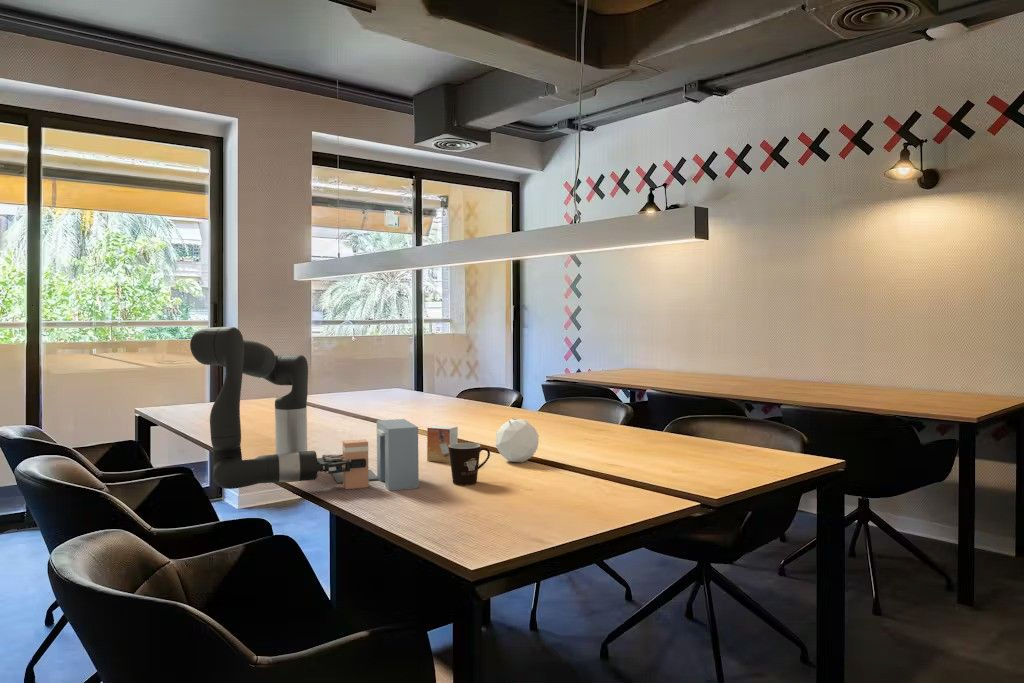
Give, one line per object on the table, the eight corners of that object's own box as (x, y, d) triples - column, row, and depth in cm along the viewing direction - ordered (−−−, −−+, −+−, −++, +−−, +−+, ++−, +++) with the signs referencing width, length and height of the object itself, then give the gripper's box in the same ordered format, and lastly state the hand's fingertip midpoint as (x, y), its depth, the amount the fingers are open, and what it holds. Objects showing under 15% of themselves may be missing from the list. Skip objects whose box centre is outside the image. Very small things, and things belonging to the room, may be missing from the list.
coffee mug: (449, 486, 190) (449, 449, 190) (447, 479, 199) (447, 443, 199) (493, 485, 192) (493, 447, 192) (489, 477, 201) (489, 442, 200)
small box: (426, 461, 224) (426, 427, 223) (435, 458, 229) (435, 424, 229) (450, 463, 221) (449, 428, 220) (458, 459, 226) (457, 426, 226)
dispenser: (374, 478, 201) (373, 420, 201) (404, 475, 204) (404, 418, 204) (385, 491, 186) (384, 429, 186) (418, 488, 189) (418, 427, 189)
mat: (331, 474, 206) (331, 472, 206) (370, 471, 210) (370, 469, 210) (337, 483, 195) (337, 481, 195) (378, 480, 199) (378, 478, 199)
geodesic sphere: (527, 450, 211) (536, 409, 218) (483, 447, 215) (493, 407, 223) (539, 471, 222) (547, 432, 229) (497, 468, 227) (506, 430, 234)
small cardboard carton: (343, 485, 192) (342, 440, 192) (366, 483, 195) (365, 439, 194) (345, 489, 188) (344, 443, 188) (368, 487, 191) (368, 441, 190)
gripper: (299, 457, 179) (369, 451, 185) (294, 447, 192) (359, 442, 199) (300, 487, 179) (369, 480, 186) (294, 475, 193) (360, 469, 199)
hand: (364, 461), depth 192 cm, fingers closed on small cardboard carton, 4 cm apart
